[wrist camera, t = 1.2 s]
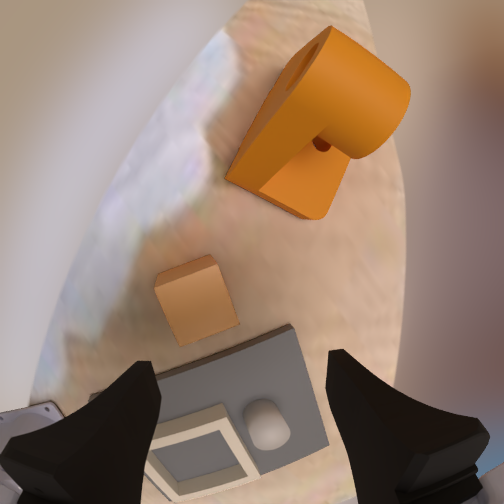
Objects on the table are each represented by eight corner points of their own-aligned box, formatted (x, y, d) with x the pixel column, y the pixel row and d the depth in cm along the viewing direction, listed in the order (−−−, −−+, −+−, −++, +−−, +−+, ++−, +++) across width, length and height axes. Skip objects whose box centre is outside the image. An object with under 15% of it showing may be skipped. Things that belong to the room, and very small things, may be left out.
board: (169, 494, 24) (171, 525, 19) (90, 395, 21) (78, 426, 17) (325, 439, 27) (344, 465, 23) (289, 323, 24) (312, 345, 20)
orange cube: (179, 322, 22) (179, 347, 18) (158, 273, 21) (153, 288, 17) (228, 303, 23) (240, 324, 18) (209, 254, 22) (217, 263, 18)
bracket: (306, 223, 24) (413, 234, 12) (222, 179, 22) (272, 142, 10) (354, 114, 23) (456, 68, 12) (282, 68, 22) (357, -16, 10)
